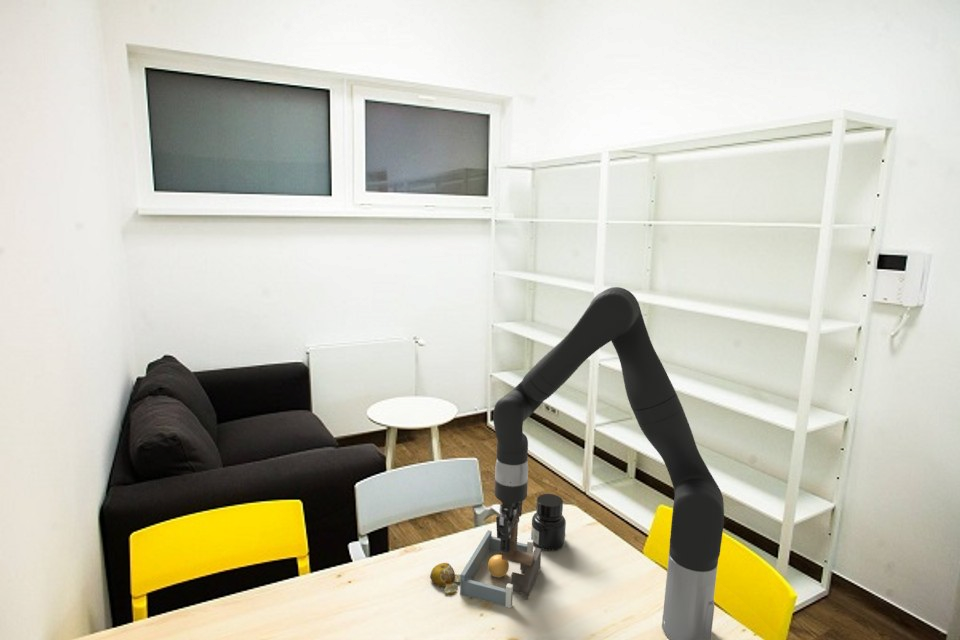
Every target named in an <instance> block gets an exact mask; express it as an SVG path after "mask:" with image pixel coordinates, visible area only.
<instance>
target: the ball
mask: <svg viewBox="0 0 960 640" xmlns="http://www.w3.org/2000/svg"><path fill="white" fill-rule="evenodd" d="M509 569H510V563H509V561H506V560H502V554H494V555H492V556H491V557H490V558H489V560H488V563H487V570H488V572H489V573H490V575H491V576H493V577H495V578H502V577H505V576H506V575H507V574H508V572H509Z"/></svg>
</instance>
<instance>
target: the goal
mask: <svg viewBox="0 0 960 640" xmlns="http://www.w3.org/2000/svg"><path fill="white" fill-rule="evenodd" d="M500 540H501V539H500V538H497V536H493V535H492V530H490V529H489V530H486V532H485V535H484V536H483V538H482V539H481V540H480V542H479V544H478V545H477V547H476V548H475V550H474V552H473V553H472V556H471V557H470V559H469V560H468V562H467V563H466V565H465V567H464V568H463V570H462V571H461V573H460V574H459V575H460V582H459V583H460V584H459V585H460V587H459V594H460V595H461V596H465V597H469V598H473V599H475V600H476V599H477V600H480V601H484V602H488V603H491V604H496V605H498V606H503V607H504V608H505V607H506V608H508V609H511V608H512V606H513V592H514V591H513V584H511V583H508V582H507V584H506V586H505V588H503V587H499V586H496V585H492V584H487V583H484V582H481V581H477V580H476V581H475V580H474V579H475V577H476V575H477V574H478V572H479V570H480V568H481V567H482V565H483V563H484V562H485V560H486V558H487V556H488V554H489V553H490V552H494V553H497V554H502V551H501V550H500ZM517 550H518V551H522V552H527V553H531V554H533V552H534V544H533V540H531V538H530V539H529V538H528V540H527V543H523V542H519V541H517Z"/></svg>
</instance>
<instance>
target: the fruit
mask: <svg viewBox="0 0 960 640" xmlns="http://www.w3.org/2000/svg"><path fill="white" fill-rule="evenodd" d="M429 575H430V576H429V578H430V580H431V582H433V585H435V586H437V587H439V588H442V587H445V588H443V591H444V594H446V595H456V594H458V590H459V589H458V588H459V587H458V586H459V585H458V584H457V583H460V574H455V570H454V568H453V567H452V565H451V564H449V562H442V563H438V564H437V565H435V566H434V567H433V568H432V570H431V572H430V574H429ZM455 582H457V583H455Z"/></svg>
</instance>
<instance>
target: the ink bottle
mask: <svg viewBox="0 0 960 640" xmlns="http://www.w3.org/2000/svg"><path fill="white" fill-rule="evenodd" d="M563 506H564V500H563V499H562V497H561V496H559V495H557V494H553V493H543V494H540V495H539V496H537V499H536V506H535V507H536V512H535V513H534V514H533V515H532V518H531V533H530V537H531V538H530V539H531V540H533V546H534V547H535V548H540V549H541V550H544V551H549V552H550V551H551V552H552V551H557V550H560V549H562V548H563V547H564V545H565V543H566V525H567V524H566V518H565V517H564V515H563V508H564V507H563Z"/></svg>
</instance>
